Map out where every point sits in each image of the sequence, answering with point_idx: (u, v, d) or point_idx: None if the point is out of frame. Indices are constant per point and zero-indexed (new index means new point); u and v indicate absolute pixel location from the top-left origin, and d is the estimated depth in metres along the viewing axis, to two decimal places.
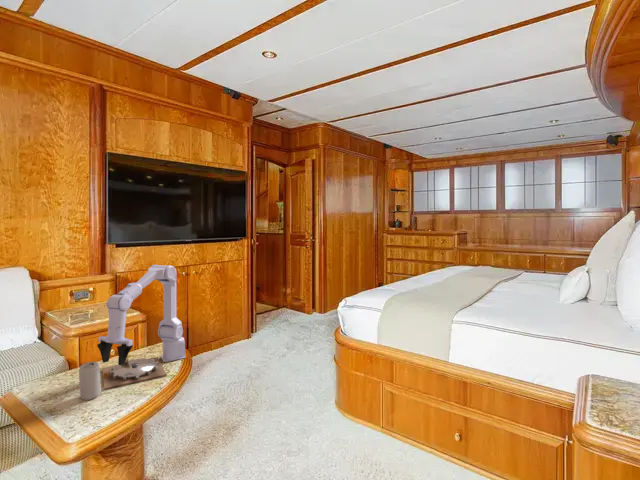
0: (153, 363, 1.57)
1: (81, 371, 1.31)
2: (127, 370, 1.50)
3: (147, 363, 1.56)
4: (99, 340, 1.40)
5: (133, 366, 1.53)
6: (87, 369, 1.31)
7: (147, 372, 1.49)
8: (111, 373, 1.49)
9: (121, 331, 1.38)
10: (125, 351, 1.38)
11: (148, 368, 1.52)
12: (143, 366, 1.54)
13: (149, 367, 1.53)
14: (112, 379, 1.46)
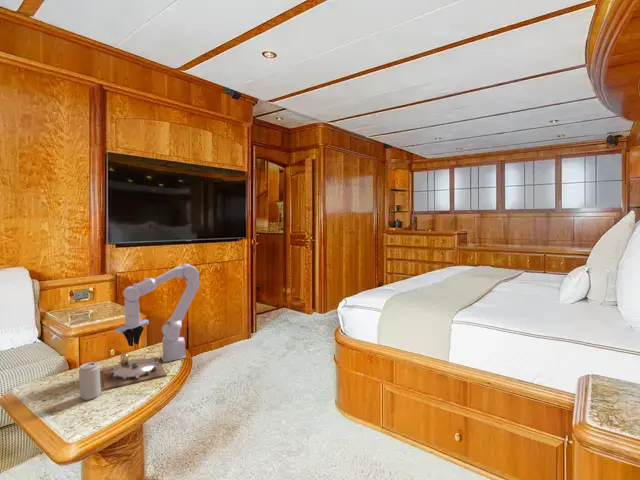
0: (153, 363, 1.57)
1: (81, 371, 1.31)
2: (127, 370, 1.50)
3: (147, 363, 1.56)
4: None
5: (133, 366, 1.53)
6: (87, 369, 1.31)
7: (147, 372, 1.49)
8: (111, 373, 1.49)
9: (125, 319, 1.57)
10: None
11: (148, 368, 1.52)
12: (143, 366, 1.54)
13: (149, 367, 1.53)
14: (112, 379, 1.46)
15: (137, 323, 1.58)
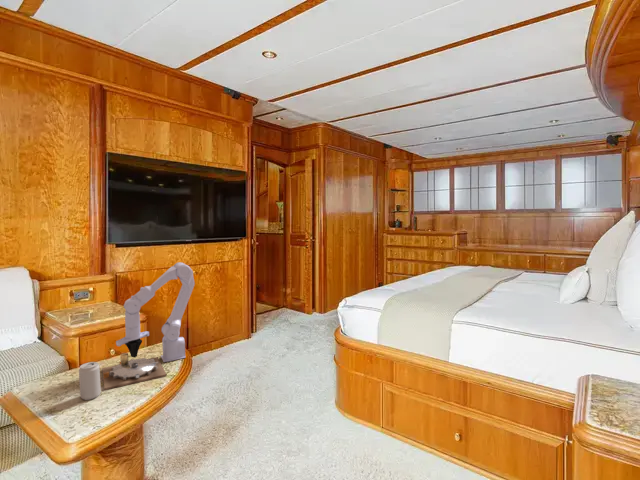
0: (153, 363, 1.57)
1: (81, 371, 1.31)
2: (127, 370, 1.50)
3: (147, 363, 1.56)
4: None
5: (133, 366, 1.53)
6: (87, 369, 1.31)
7: (147, 372, 1.49)
8: (111, 373, 1.49)
9: (126, 331, 1.57)
10: None
11: (148, 368, 1.52)
12: (143, 366, 1.54)
13: (149, 367, 1.53)
14: (112, 379, 1.46)
15: (137, 335, 1.59)
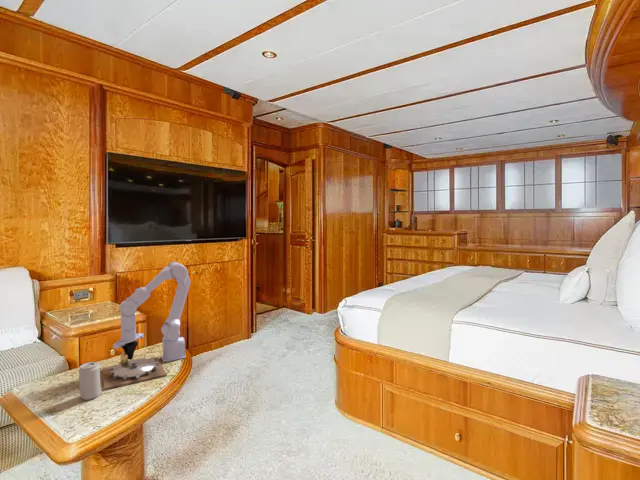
0: (153, 363, 1.57)
1: (80, 371, 1.31)
2: (128, 370, 1.50)
3: (147, 363, 1.56)
4: None
5: (133, 366, 1.53)
6: (87, 369, 1.31)
7: (147, 372, 1.49)
8: (111, 373, 1.49)
9: (122, 333, 1.55)
10: None
11: (148, 368, 1.52)
12: (143, 366, 1.54)
13: (149, 367, 1.53)
14: (112, 379, 1.46)
15: (134, 337, 1.58)
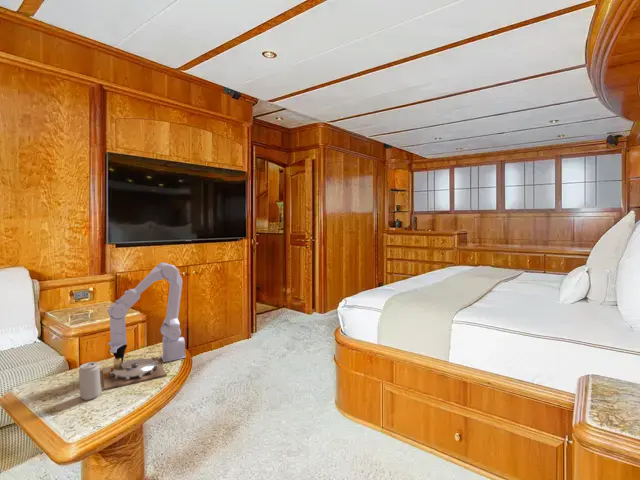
0: (149, 360, 1.60)
1: (80, 371, 1.31)
2: (134, 370, 1.50)
3: (143, 362, 1.58)
4: None
5: (135, 366, 1.53)
6: (87, 369, 1.31)
7: (156, 366, 1.55)
8: (118, 377, 1.46)
9: (115, 337, 1.51)
10: (120, 352, 1.54)
11: (152, 363, 1.56)
12: (144, 364, 1.56)
13: (152, 363, 1.57)
14: (112, 379, 1.46)
15: None
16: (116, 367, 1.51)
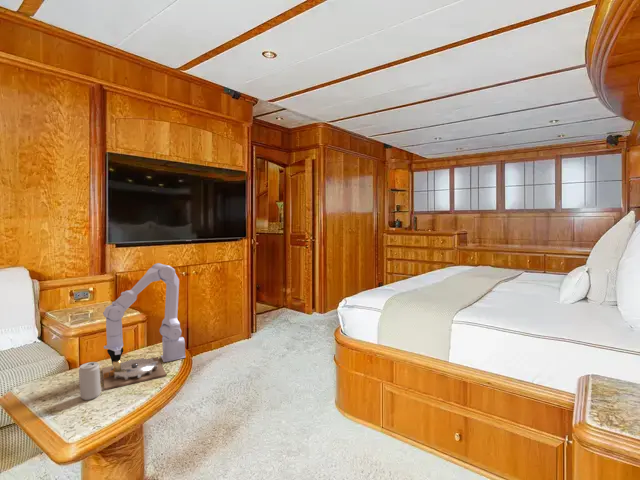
0: (143, 359, 1.61)
1: (81, 371, 1.31)
2: (139, 368, 1.51)
3: (139, 361, 1.58)
4: None
5: (136, 365, 1.53)
6: (87, 369, 1.31)
7: (156, 363, 1.58)
8: (128, 377, 1.45)
9: (114, 339, 1.48)
10: (117, 355, 1.51)
11: (151, 361, 1.59)
12: (142, 363, 1.57)
13: (149, 360, 1.59)
14: (112, 379, 1.46)
15: None
16: (117, 370, 1.49)
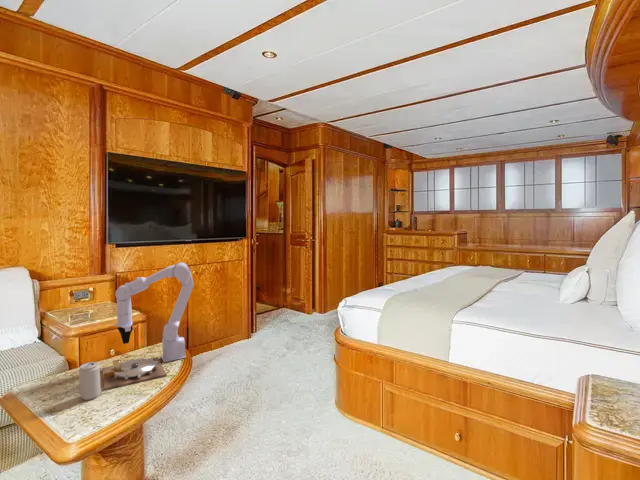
0: (143, 359, 1.61)
1: (80, 371, 1.31)
2: (139, 368, 1.51)
3: (139, 361, 1.58)
4: None
5: (136, 365, 1.53)
6: (87, 369, 1.31)
7: (156, 363, 1.58)
8: (128, 377, 1.45)
9: (124, 317, 1.59)
10: (127, 332, 1.61)
11: (151, 361, 1.59)
12: (142, 363, 1.57)
13: (149, 360, 1.59)
14: (112, 379, 1.46)
15: None
16: (117, 370, 1.49)
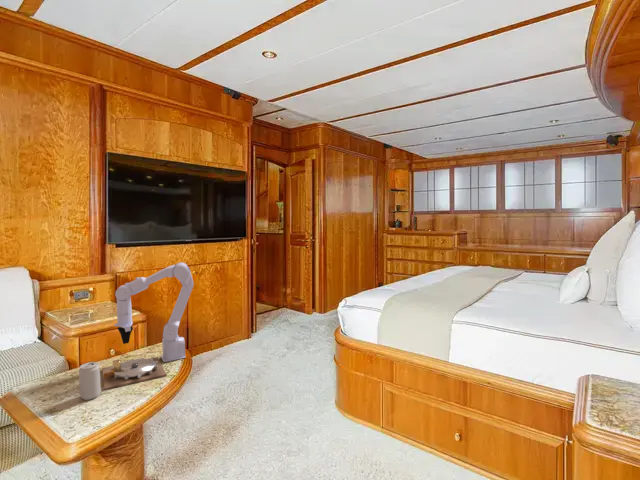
0: (143, 359, 1.61)
1: (81, 371, 1.31)
2: (139, 368, 1.51)
3: (139, 361, 1.58)
4: None
5: (136, 365, 1.53)
6: (87, 369, 1.31)
7: (156, 363, 1.58)
8: (128, 377, 1.45)
9: (124, 317, 1.59)
10: (127, 332, 1.61)
11: (151, 361, 1.59)
12: (142, 363, 1.57)
13: (149, 360, 1.59)
14: (112, 379, 1.46)
15: None
16: (117, 370, 1.49)
